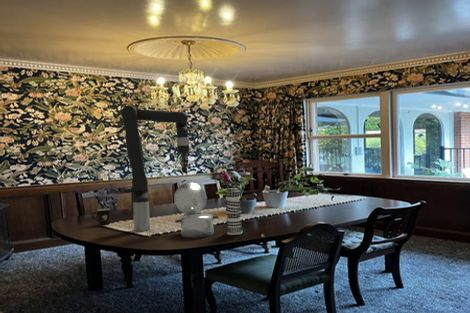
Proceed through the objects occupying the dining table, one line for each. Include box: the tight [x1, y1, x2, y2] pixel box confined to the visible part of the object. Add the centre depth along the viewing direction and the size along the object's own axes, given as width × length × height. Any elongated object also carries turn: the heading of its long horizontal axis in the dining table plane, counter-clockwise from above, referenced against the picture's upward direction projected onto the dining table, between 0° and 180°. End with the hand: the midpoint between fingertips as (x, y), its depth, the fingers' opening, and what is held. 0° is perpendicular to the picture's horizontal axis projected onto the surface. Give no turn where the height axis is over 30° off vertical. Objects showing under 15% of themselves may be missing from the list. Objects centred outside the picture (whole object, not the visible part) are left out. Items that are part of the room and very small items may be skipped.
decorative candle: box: [224, 187, 243, 236], centre depth 242 cm, size 9×9×25 cm
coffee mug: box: [91, 208, 112, 226], centre depth 290 cm, size 12×9×10 cm
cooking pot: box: [174, 213, 219, 239], centre depth 245 cm, size 24×18×10 cm
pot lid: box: [173, 181, 208, 216], centre depth 258 cm, size 19×20×3 cm
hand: (184, 172), depth 270 cm, fingers open, 3 cm apart
